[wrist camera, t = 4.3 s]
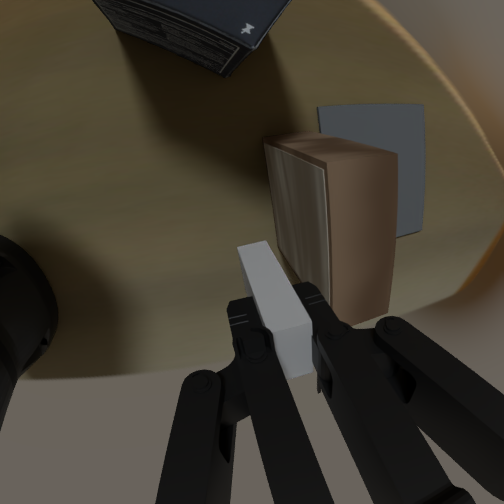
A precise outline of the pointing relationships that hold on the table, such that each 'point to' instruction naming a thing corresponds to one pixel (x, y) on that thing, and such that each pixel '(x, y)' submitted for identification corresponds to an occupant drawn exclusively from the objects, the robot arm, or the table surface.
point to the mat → (388, 147)
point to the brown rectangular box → (336, 218)
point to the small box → (198, 27)
